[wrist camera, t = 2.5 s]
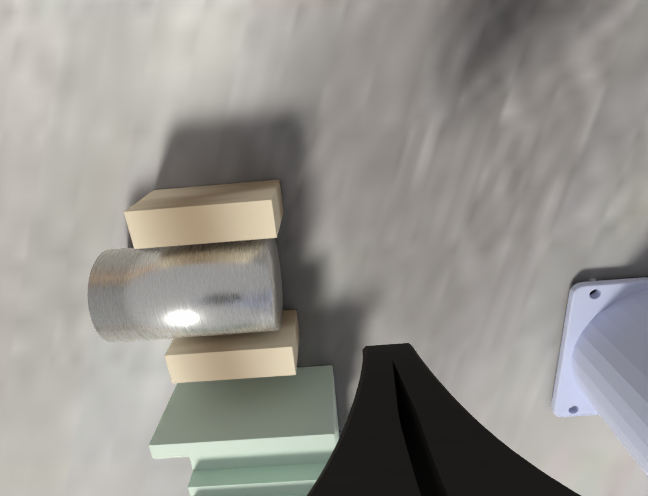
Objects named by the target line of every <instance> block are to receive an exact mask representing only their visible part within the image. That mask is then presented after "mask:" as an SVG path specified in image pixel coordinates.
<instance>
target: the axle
mask: <svg viewBox="0 0 648 496" xmlns="http://www.w3.org/2000/svg"><path fill="white" fill-rule="evenodd" d="M88 305H89V311H90V316H91V319H92V322H93V324H94V327H95V329H96V330H97V332H98V333H99V335H100V336H101V337H102V338H103V339H104V340H106V341H108V342H112V343H115V342H128V341H142V340H156V339H170V338H183V337H197V336H211V335H225V334H238V333H252V332H266V331H279V330H280V327H281V323H282V313H283V290H282V276H281V269H280V262H279V254H278V249H277V245H276V242H275V239H274V238H268V239H255V240H242V241H230V242H217V243H205V244H192V245H180V246H167V247H155V248H142V249H134V248H121V249H110V250H106V251H104V252H103V253H101V254H100V255H99V257H98V258H97V259H96V261H95V263H94V265H93V267H92V270H91V273H90V277H89V283H88Z"/></svg>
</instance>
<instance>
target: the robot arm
mask: <svg viewBox="0 0 648 496" xmlns="http://www.w3.org/2000/svg"><path fill="white" fill-rule="evenodd" d="M595 289H596V291H595V292H594V293H593V294H591V295H589V294H590V292H591V291H592V290H595ZM572 406H573V407H572ZM570 407H572V408H570ZM551 409H552V410H553V412H554V413H555V415H556V416H559V417H569V416H585V415H600V416H601V418H602V419H603V420H604V421H605V423H606V424H607V425H608V427H609V428H610V429H611V430H612V432H613V433H614V434H615V435H616V437H617V438H618V439H619V441H620V442H621V443H622V444H623V446H624V447H625V448H626V450H627V451H628V452H629V453H630V455H631V456H632V457H633V458H634V460H635V461H636V462H637V464H638V465H639V466H640V467H641V469H642V470H643V471H644V473H645V474H646V475H647V476H648V277H643V278H629V279H616V280H602V281H589V282H580V283H577V284H575V285H573V287H572V288H571V289H570V292H569V298H568V304H567V310H566V316H565V323H564V329H563V335H562V342H561V348H560V354H559V360H558V367H557V373H556V379H555V385H554V392H553V398H552V404H551ZM307 496H581V495H579V494H577V493H575V492H574V491H572V490H570V489H569V488H567V487H566V486H564V485H562V484H561V483H559V482H558V481H556V480H554V479H553V478H551V477H550V476H548V475H547V474H545V473H544V472H542V471H541V470H539V469H538V468H536V467H535V466H534V465H532V464H531V463H529V462H528V461H527V460H525V459H524V458H522V457H521V456H520V455H518V454H517V453H515V452H514V451H513V450H511V449H510V448H509V447H508V446H506V445H505V444H504V443H503V442H501V441H500V440H499V439H498V438H496V437H495V436H494V435H493V434H492V433H491V432H489V431H488V430H487V429H486V428H485V427H484V426H482V425H481V424H480V423H479V422H478V421H477V420H476V419H475V418H474V417H473V416H472V415H471V414H470V413H469V412H468V411H467V410H466V409H465V408H464V407H463V406H462V405H461V404H460V403H459V402H458V401H457V400H456V399H455V398H454V397H453V396H452V395H451V394H450V393H449V392H448V391H447V389H446V388H445V387H444V386H443V385H442V384H441V383H440V382H439V380H438V379H437V378H436V377H435V376H434V375H433V373H432V372H431V371H430V370H429V368H428V367H427V366H426V365H425V363H424V362H423V361H422V359H421V358H420V357H419V355H418V354H417V352H416V351H415V350H414V348H413V347H412V346H411V345H410V344H409V343H403V344H389V345H375V346H366V347H365V348H364V349H363V364H362V370H361V376H360V380H359V384H358V388H357V392H356V395H355V399H354V402H353V404H352V407H351V410H350V413H349V416H348V419H347V421H346V424H345V426H344V429H343V431H342V433H341V436H340V438H339V440H338V442H337V444H336V446H335V448H334V450H333V452H332V454H331V456H330V458H329V460H328V462H327V463H326V465H325V467H324V469H323V471H322V472H321V474H320V476H319V477H318V479H317V481H316V482H315V484H314V485H313V487H312V488H311V490H310V491H309V493H308V494H307Z"/></svg>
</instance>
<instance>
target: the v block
mask: <svg viewBox="0 0 648 496" xmlns="http://www.w3.org/2000/svg"><path fill="white" fill-rule="evenodd" d="M338 440H339V427H338V417H337V406H336V396H335V386H334V375H333V365H328V366H314V367H299V368H297V369H296V375H288V376H273V377H258V378H243V379H229V380H214V381H199V382H185V383H177V385H176V387H175V390H174V392H173V394H172V396H171V398H170V400H169V403H168V405H167V407H166V409H165V411H164V413H163V416H162V418H161V420H160V422H159V424H158V426H157V429H156V431H155V433H154V435H153V437H152V440H151V442H150V444H149V448H150V451H151V454H152V457H153V459H162V458H178V457H189V458H190V461H191V465H192V468H193V473H192V476H191V479H190V482H189V485H188V490H189V493H190V496H307V494H308V493H309V491H310V490H311V488H312V487H313V485H314V484H315V482H316V481H317V479H318V477H319V476H320V474H321V472H322V471H323V469H324V467H325V465H326V463H327V462H328V460H329V458H330V456H331V454H332V452H333V450H334V448H335V446H336V444H337V442H338Z"/></svg>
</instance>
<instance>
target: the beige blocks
mask: <svg viewBox="0 0 648 496" xmlns="http://www.w3.org/2000/svg"><path fill="white" fill-rule="evenodd" d="M283 214H284V210H283V203H282V195H281V187H280V179H278V180H266V181H254V182H242V183H231V184H219V185H207V186H195V187H183V188H171V189H160V190H153V191H152V192H150V193H149V194H148V195H146V196H145V197H143V198H142V199H141V200H139V201H138V202H137V203H135V204H134V205H133V206H131V207H130V208H128V209H127V210H126V211H124V215H125V218H126V222H127V225H128V229H129V232H130V236H131V239H132V243H133V246H134V249H142V248H155V247H167V246H180V245H192V244H205V243H217V242H230V241H242V240H255V239H268V238H277V235H278V232H279V228H280V224H281V221H282V217H283ZM299 337H300V334H299V326H298V318H297V311H296V310H283V313H282V323H281V327H280V330H279V331H266V332H252V333H238V334H225V335H211V336H197V337H183V338H174V340H173V341H172V343H171V345H170V347H169V349H168V350H167V352H166V354H165V359H166V362H167V366H168V369H169V373H170V376H171V380H172V383H185V382H199V381H214V380H229V379H243V378H258V377H273V376H288V375H296V369H297V358H298V348H299Z"/></svg>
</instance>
